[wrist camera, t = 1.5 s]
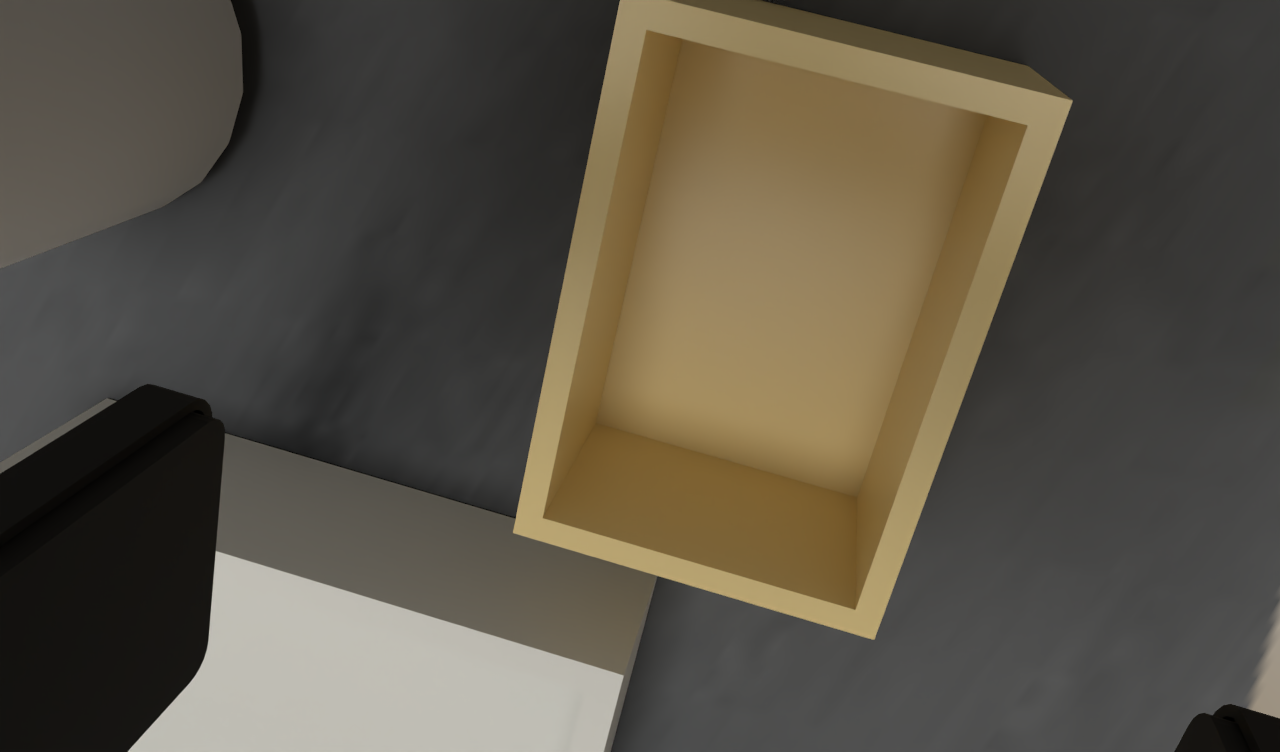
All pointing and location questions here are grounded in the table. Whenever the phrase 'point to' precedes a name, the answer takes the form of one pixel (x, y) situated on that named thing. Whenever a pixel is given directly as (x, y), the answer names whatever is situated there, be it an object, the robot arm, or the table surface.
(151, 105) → the can
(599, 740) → the large crate
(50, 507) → the robot arm
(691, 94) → the small crate
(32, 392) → the table surface
